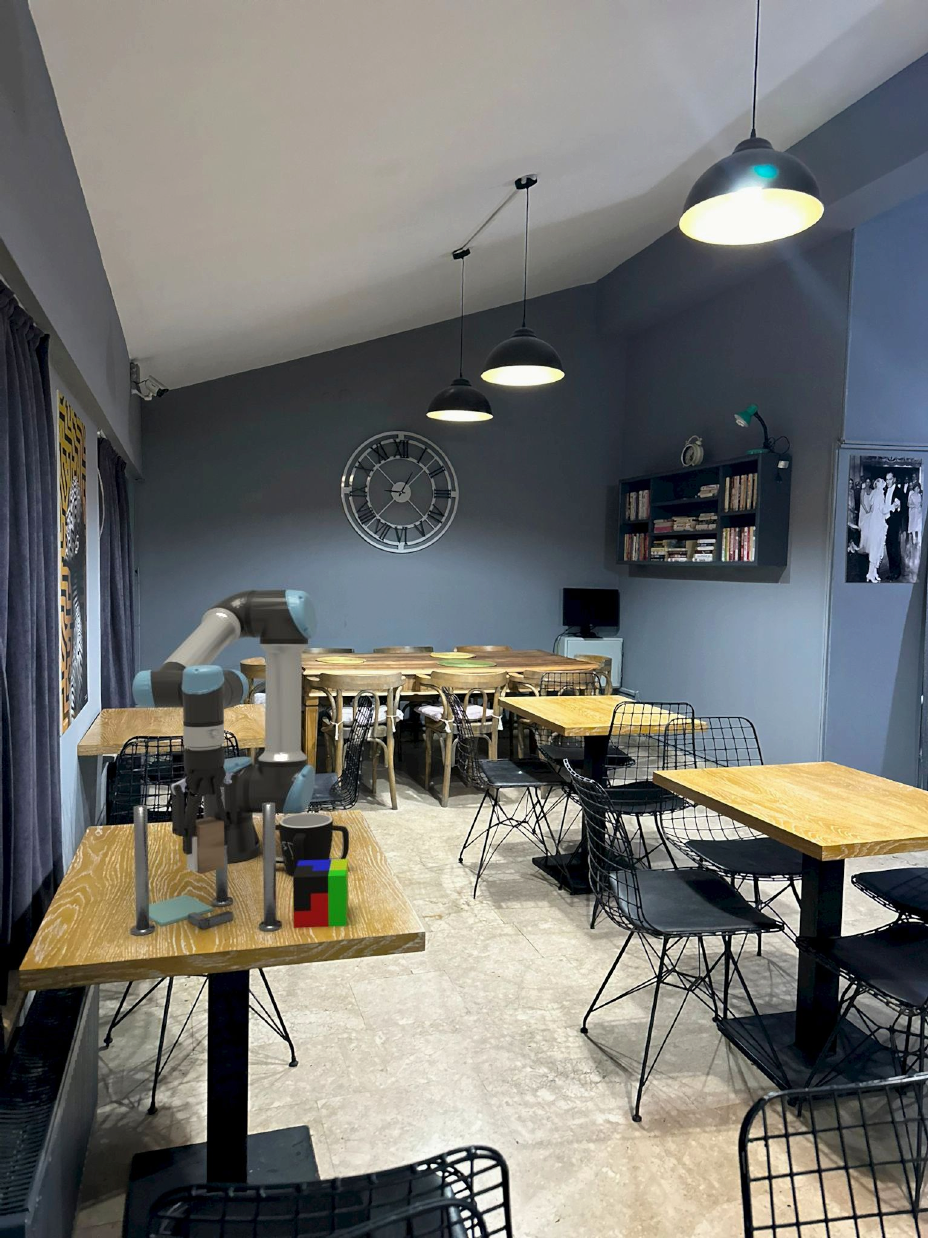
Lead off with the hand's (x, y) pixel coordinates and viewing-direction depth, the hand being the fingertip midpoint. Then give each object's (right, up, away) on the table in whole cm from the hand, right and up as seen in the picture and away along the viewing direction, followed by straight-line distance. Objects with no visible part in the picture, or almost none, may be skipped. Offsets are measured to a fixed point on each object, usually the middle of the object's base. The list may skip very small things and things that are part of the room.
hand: (205, 866), depth 167 cm
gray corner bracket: (0, -12, +4) cm, 12 cm away
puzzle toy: (+21, -12, +5) cm, 25 cm away
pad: (-9, -12, +9) cm, 17 cm away
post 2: (-1, -11, +13) cm, 17 cm away
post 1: (-12, -12, -1) cm, 17 cm away
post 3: (+12, -12, 0) cm, 17 cm away
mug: (+13, -11, +33) cm, 37 cm away
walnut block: (0, 0, 0) cm, 0 cm away
